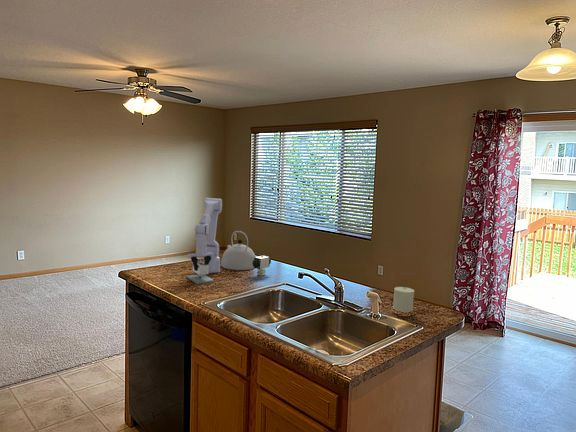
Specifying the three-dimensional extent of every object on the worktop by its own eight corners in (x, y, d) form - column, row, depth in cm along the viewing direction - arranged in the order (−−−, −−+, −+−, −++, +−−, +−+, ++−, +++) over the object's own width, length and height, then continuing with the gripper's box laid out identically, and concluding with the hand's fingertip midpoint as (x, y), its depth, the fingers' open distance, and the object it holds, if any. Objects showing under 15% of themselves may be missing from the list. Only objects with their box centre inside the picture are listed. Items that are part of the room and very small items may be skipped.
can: (411, 311, 206) (414, 287, 205) (412, 317, 197) (415, 292, 196) (392, 309, 208) (394, 284, 207) (392, 315, 199) (394, 289, 198)
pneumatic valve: (270, 274, 261) (271, 254, 260) (257, 277, 252) (258, 257, 251) (263, 272, 264) (264, 253, 263) (250, 275, 255) (251, 255, 254)
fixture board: (203, 275, 249) (203, 274, 249) (213, 281, 237) (213, 280, 237) (187, 277, 243) (187, 275, 243) (196, 283, 232) (196, 281, 231)
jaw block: (201, 270, 245) (201, 261, 245) (208, 274, 237) (208, 265, 237) (192, 270, 242) (192, 262, 242) (199, 274, 234) (199, 265, 234)
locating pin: (201, 277, 241) (201, 273, 241) (202, 278, 240) (202, 273, 240) (198, 277, 240) (198, 273, 240) (199, 278, 239) (199, 273, 239)
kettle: (212, 263, 281) (213, 229, 279) (240, 259, 296) (242, 227, 294) (234, 271, 263) (236, 235, 260) (263, 267, 278) (265, 232, 275)
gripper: (191, 247, 231) (190, 272, 232) (216, 246, 239) (215, 270, 240) (186, 245, 236) (186, 269, 238) (211, 244, 244) (210, 267, 246)
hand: (200, 269), depth 239 cm, fingers closed on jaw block, 5 cm apart
